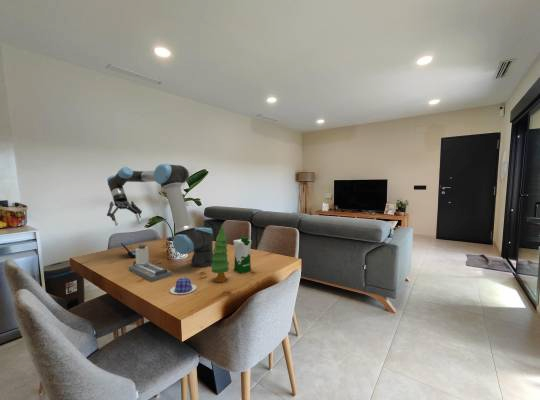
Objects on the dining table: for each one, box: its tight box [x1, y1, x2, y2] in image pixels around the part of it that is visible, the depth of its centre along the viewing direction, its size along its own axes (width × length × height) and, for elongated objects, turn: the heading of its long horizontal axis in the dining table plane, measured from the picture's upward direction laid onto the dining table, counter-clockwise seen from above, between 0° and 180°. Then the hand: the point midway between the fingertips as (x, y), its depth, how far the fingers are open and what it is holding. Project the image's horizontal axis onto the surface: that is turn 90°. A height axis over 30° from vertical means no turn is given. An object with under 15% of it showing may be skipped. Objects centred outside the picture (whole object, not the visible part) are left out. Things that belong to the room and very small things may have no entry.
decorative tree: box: [210, 223, 230, 283], centre depth 129 cm, size 10×9×30 cm
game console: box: [120, 242, 136, 259], centre depth 175 cm, size 16×14×9 cm
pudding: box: [169, 277, 197, 295], centre depth 118 cm, size 12×12×5 cm
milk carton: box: [233, 236, 252, 274], centre depth 144 cm, size 9×9×20 cm
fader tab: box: [135, 244, 150, 266], centre depth 145 cm, size 5×6×12 cm
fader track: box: [128, 260, 173, 283], centre depth 140 cm, size 28×11×4 cm, turn 51°
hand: (128, 223), depth 155 cm, fingers open, 13 cm apart
